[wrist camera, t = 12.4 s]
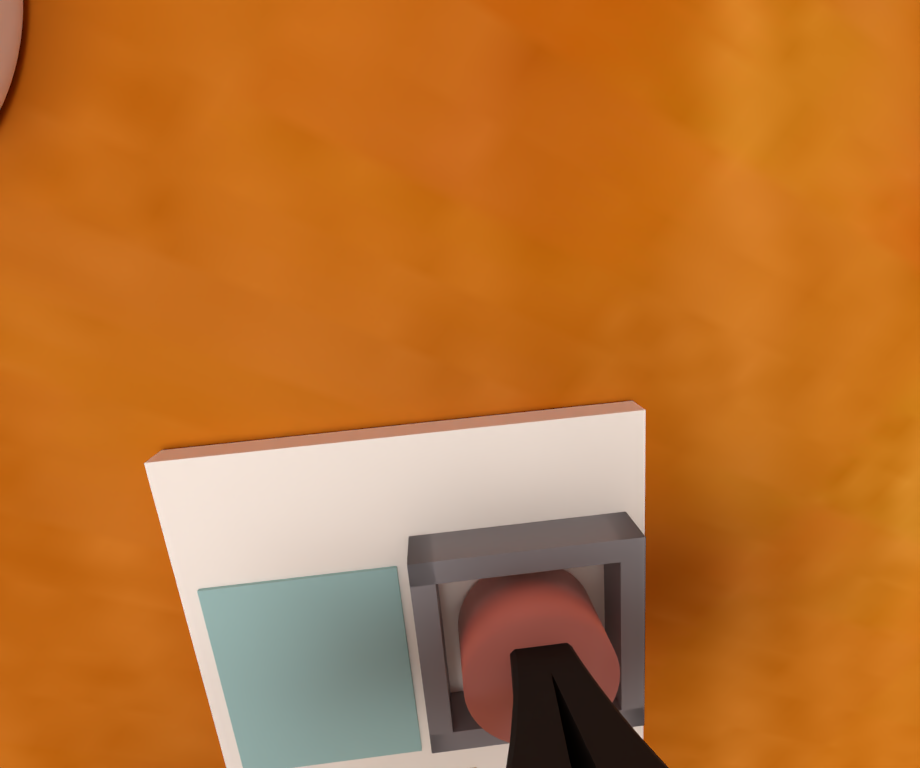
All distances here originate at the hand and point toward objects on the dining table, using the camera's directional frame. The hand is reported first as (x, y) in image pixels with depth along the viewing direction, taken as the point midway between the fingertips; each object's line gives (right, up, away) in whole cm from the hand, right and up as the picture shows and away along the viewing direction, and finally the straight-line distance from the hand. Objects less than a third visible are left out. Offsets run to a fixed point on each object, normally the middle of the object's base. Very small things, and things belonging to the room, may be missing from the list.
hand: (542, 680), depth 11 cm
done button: (0, +1, +2) cm, 2 cm away
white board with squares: (-2, -4, +4) cm, 6 cm away
